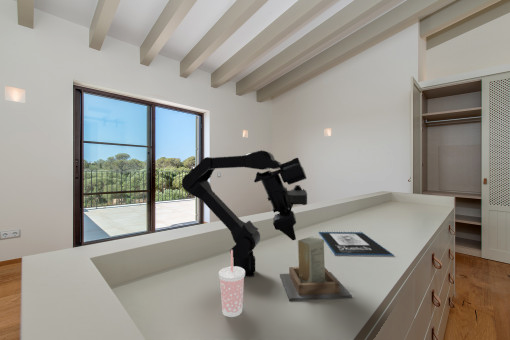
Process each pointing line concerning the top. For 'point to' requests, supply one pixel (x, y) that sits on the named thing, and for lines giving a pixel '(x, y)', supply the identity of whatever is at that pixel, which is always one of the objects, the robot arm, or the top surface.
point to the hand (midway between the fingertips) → (293, 231)
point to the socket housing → (312, 287)
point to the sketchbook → (353, 244)
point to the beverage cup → (232, 289)
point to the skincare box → (311, 260)
